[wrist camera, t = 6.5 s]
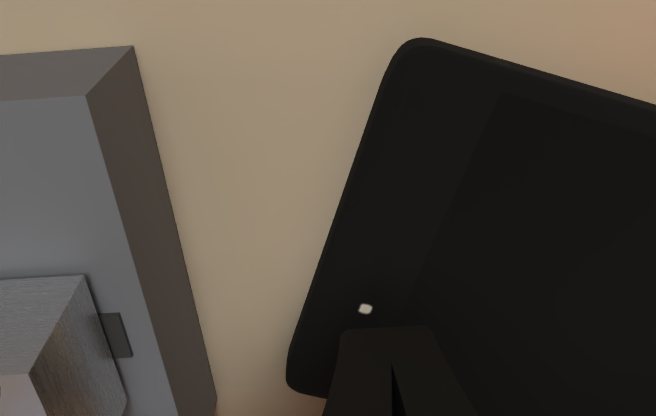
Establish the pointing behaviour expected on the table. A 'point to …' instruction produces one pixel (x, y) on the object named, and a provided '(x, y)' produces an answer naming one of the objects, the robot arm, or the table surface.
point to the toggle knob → (55, 351)
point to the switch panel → (101, 216)
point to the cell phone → (497, 236)
